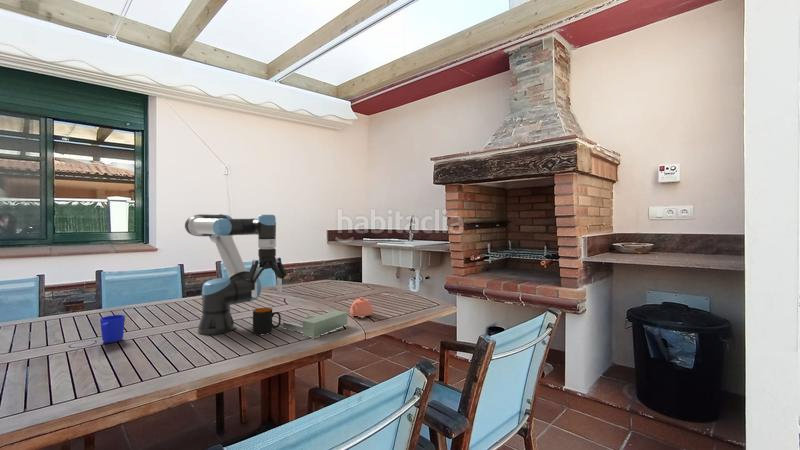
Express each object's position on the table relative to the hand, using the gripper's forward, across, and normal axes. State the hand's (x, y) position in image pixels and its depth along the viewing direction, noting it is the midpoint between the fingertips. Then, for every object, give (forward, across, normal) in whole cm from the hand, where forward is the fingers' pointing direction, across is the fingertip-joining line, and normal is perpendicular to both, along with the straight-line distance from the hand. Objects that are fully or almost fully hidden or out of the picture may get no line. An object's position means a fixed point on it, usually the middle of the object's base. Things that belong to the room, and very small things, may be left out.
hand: (267, 294), depth 167 cm
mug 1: (+17, -45, +42) cm, 64 cm away
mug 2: (+18, 0, 0) cm, 18 cm away
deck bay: (+17, +16, -13) cm, 27 cm away
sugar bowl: (+18, +44, -19) cm, 52 cm away
